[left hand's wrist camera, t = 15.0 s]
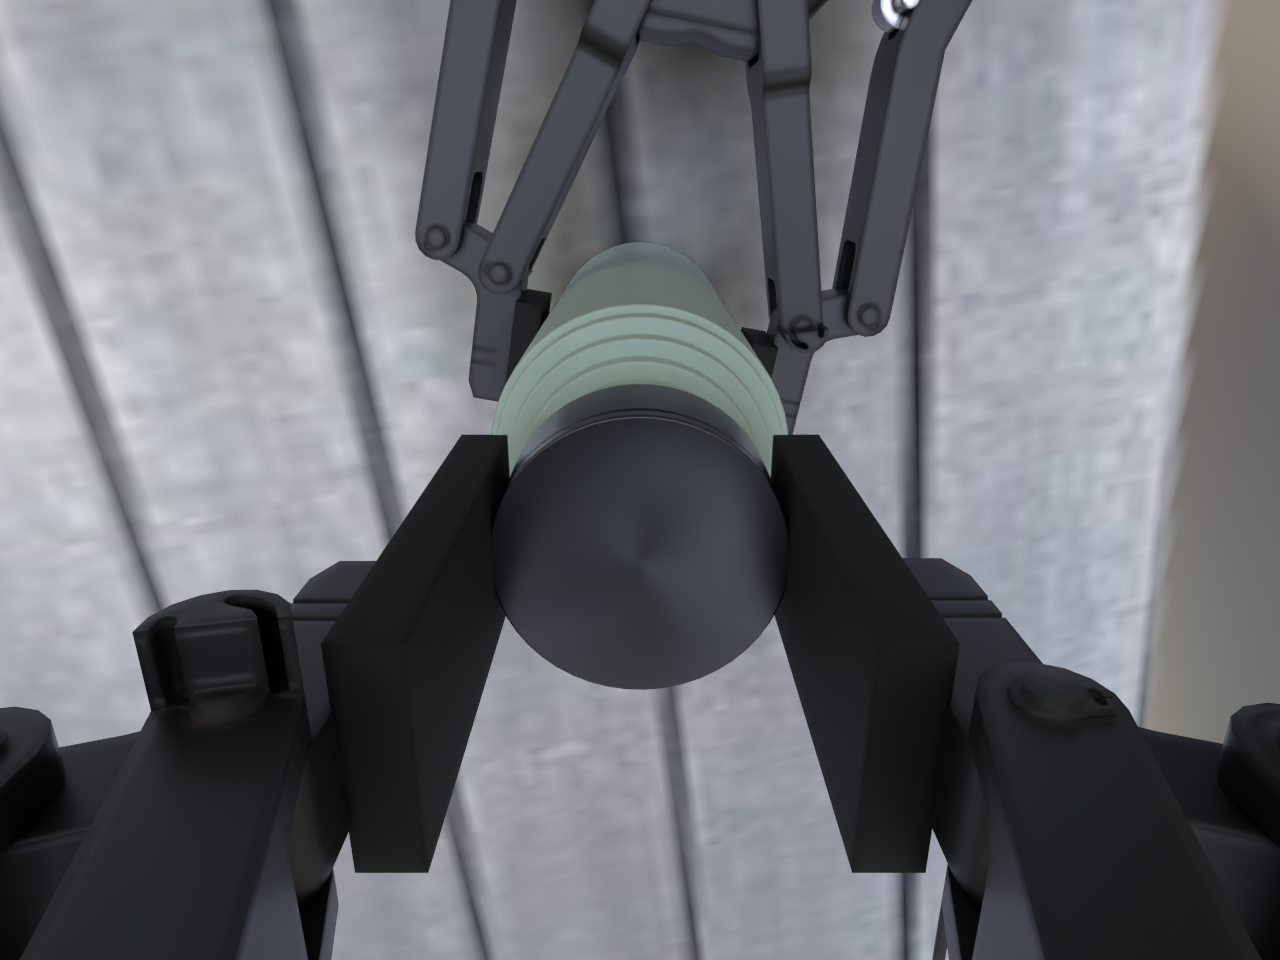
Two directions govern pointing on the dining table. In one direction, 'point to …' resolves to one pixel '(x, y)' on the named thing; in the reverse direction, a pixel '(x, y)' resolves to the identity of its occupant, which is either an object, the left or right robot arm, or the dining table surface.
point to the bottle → (639, 346)
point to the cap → (639, 539)
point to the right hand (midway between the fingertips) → (612, 515)
